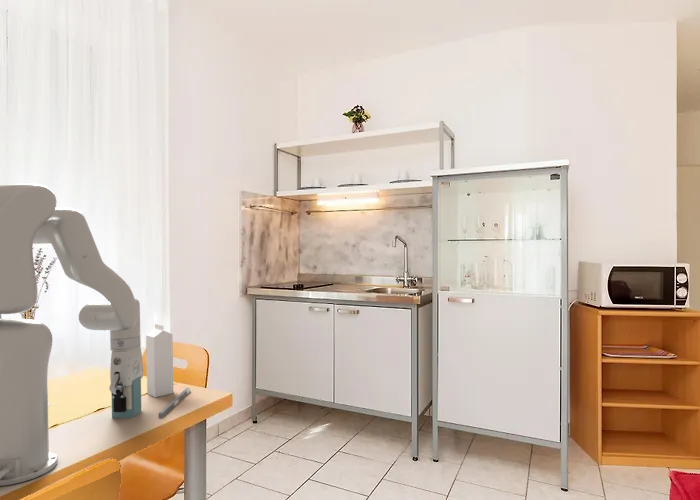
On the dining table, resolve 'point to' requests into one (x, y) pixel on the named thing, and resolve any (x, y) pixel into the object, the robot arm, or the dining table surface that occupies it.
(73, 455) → the dining table surface
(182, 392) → the rail
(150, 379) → the milk
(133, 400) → the tea tin
